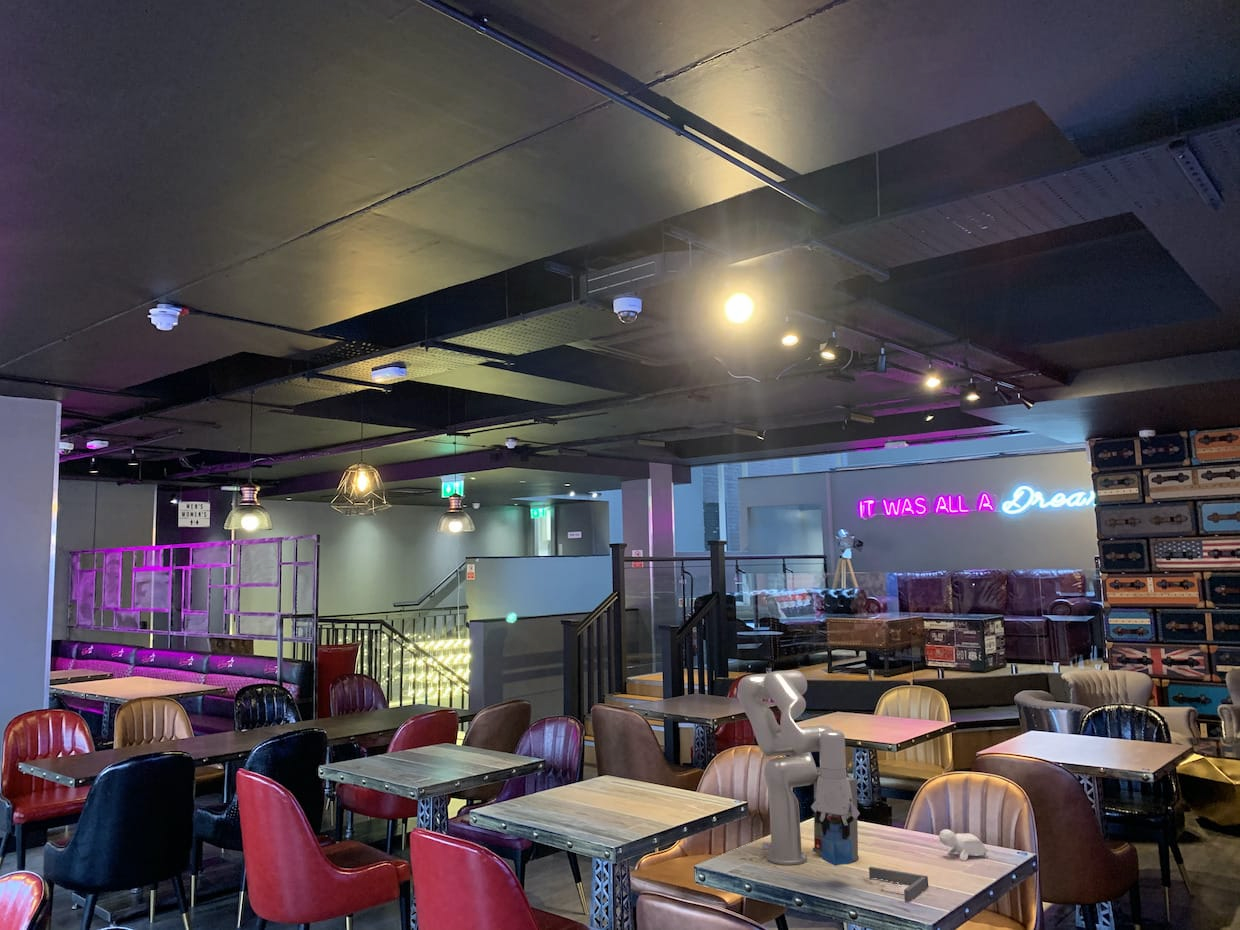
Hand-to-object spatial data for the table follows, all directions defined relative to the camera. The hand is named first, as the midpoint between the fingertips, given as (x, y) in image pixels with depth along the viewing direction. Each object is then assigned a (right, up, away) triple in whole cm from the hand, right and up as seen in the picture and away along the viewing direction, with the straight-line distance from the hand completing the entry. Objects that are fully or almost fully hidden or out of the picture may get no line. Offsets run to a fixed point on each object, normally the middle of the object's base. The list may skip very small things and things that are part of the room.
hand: (836, 835), depth 259 cm
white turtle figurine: (+46, -16, +21) cm, 53 cm away
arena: (+13, -12, -8) cm, 20 cm away
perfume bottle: (0, -7, -1) cm, 7 cm away
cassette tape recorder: (+6, -17, +24) cm, 30 cm away
